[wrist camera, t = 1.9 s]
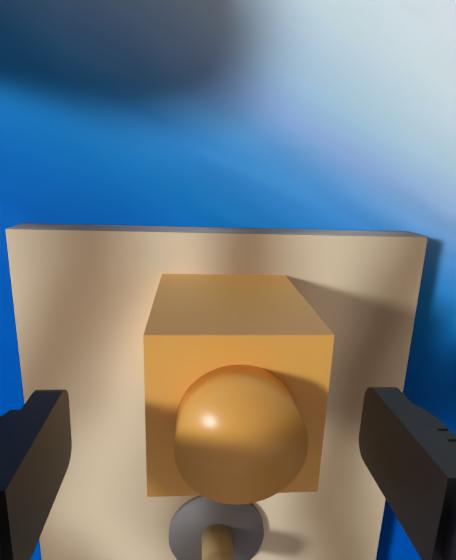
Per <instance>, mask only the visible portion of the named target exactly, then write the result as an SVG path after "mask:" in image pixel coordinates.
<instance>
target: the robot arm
mask: <svg viewBox="0 0 456 560" xmlns="http://www.w3.org/2000/svg"><path fill="white" fill-rule="evenodd" d="M359 449H360V454H361V457H362V459H363V461H364V463H365V465H366V467H367V468H368V470H369V472H370V473H371V475H372V477H373V478H374V480H375V482H376V483H377V485H378V487H379V488H380V490H381V492H382V494H383V495H384V497H385V499H386V500H387V502H388V504H389V505H390V507H391V509H392V510H393V512H394V514H395V515H396V517H397V519H398V520H399V522H400V524H401V525H402V527H403V529H404V531H405V532H406V534H407V536H408V537H409V539H410V541H411V542H412V544H413V546H414V547H415V549H416V551H417V552H418V554H419V556H420V557H421V559H422V560H456V436H455V435H454V434H453V433H452V432H451V431H448V428H447V427H446V426H445V425H444V424H443V423H442V422H441V421H440V420H439V419H438V418H437V417H436V416H435V415H433V414H432V413H430V412H428V411H426V410H425V409H423V408H421V407H420V406H418V405H414V404H413V403H412V402H411V401H410V400H409V399H408V398H407V397H406V396H405V395H404V394H403V393H402V392H401V391H400V390H399V389H398V388H397V387H369V388H367V390H366V392H365V395H364V402H363V409H362V417H361V424H360V431H359ZM71 450H72V438H71V423H70V407H69V395H68V392H67V390H65V389H59V390H35V391H34V392H33V393H32V394H31V396H30V397H29V399H28V400H27V401H26V403H25V404H24V406H23V407H22V409H21V410H10V411H8V412H7V413H6V414H4V415H3V416H1V417H0V560H31V557H32V555H33V552H34V550H35V547H36V545H37V543H38V540H39V538H40V535H41V533H42V530H43V528H44V525H45V523H46V521H47V518H48V516H49V513H50V511H51V508H52V506H53V503H54V501H55V499H56V496H57V494H58V491H59V489H60V486H61V484H62V481H63V479H64V477H65V474H66V472H67V469H68V466H69V463H70V458H71Z"/></svg>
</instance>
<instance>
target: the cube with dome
mask: <svg viewBox="0 0 456 560" xmlns="http://www.w3.org/2000/svg"><path fill="white" fill-rule="evenodd" d="M143 344H144V387H145V430H146V473H147V497H166V496H197V495H201V496H203V497H205V498H207V499H210V500H212V501H215V502H219V503H224V504H235V505H240V504H249V503H255V502H258V501H262V500H265V499H267V498H269V497H272V496H273V495H275V494H277V493H290V492H318V483H319V474H320V465H321V455H322V446H323V437H324V428H325V419H326V409H327V400H328V391H329V382H330V372H331V363H332V354H333V345H334V334H333V333H332V332H331V330H330V329H329V328H328V327H327V326H326V324H325V323H324V322H323V321H322V319H321V318H320V317H319V316H318V315H317V313H316V312H315V311H314V310H313V308H312V307H311V306H310V305H309V304H308V302H307V301H306V300H305V299H304V297H303V296H302V295H301V294H300V293H299V291H298V290H297V289H296V288H295V287H294V285H293V284H292V283H291V282H290V280H289V279H288V278H287V277H286V276H285V275H236V274H162V275H161V278H160V282H159V285H158V288H157V292H156V295H155V298H154V302H153V305H152V308H151V311H150V315H149V318H148V321H147V325H146V328H145V331H144V335H143Z"/></svg>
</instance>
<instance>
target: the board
mask: <svg viewBox="0 0 456 560" xmlns="http://www.w3.org/2000/svg"><path fill="white" fill-rule="evenodd" d="M6 238H7V247H8V257H9V266H10V275H11V284H12V293H13V302H14V311H15V320H16V329H17V338H18V347H19V356H20V366H21V375H22V384H23V393H24V402H25V403H26V401H27V400H28V399H29V397H30V396H31V394H32V393H33V392H34V391H35V390H59V389H65V390H67V392H68V395H69V407H70V423H71V438H72V450H71V458H70V463H69V466H68V469H67V472H66V474H65V477H64V479H63V481H62V484H61V486H60V489H59V491H58V494H57V496H56V499H55V501H54V503H53V506H52V508H51V511H50V513H49V516H48V518H47V521H46V523H45V525H44V528H43V530H42V533H41V535H40V547H41V556H42V560H376V555H377V549H378V543H379V537H380V531H381V524H382V518H383V512H384V506H385V500H386V499H385V497H384V495H383V494H382V492H381V490H380V488H379V487H378V485H377V483H376V482H375V480H374V478H373V477H372V475H371V473H370V472H369V470H368V468H367V467H366V465H365V463H364V461H363V459H362V457H361V454H360V449H359V431H360V424H361V417H362V409H363V402H364V395H365V392H366V390H367V388H369V387H397V388H398V389H399V390H400V391H401V392H402V393H403V388H404V382H405V376H406V369H407V363H408V357H409V351H410V345H411V338H412V332H413V326H414V320H415V314H416V308H417V301H418V295H419V289H420V283H421V277H422V270H423V264H424V258H425V252H426V246H427V239H428V237H425V236H421V235H418V234H415V233H412V232H402V231H355V230H308V229H261V228H214V227H167V226H120V225H73V224H25V223H22V224H19V225H16V226H13V227H10V228H7V229H6ZM162 274H236V275H285V276H286V277H287V278H288V279H289V280H290V282H291V283H292V284H293V285H294V287H295V288H296V289H297V290H298V291H299V293H300V294H301V295H302V296H303V297H304V299H305V300H306V301H307V302H308V304H309V305H310V306H311V307H312V308H313V310H314V311H315V312H316V313H317V315H318V316H319V317H320V318H321V319H322V321H323V322H324V323H325V324H326V326H327V327H328V328H329V329H330V330H331V332H332V333H333V334H334V345H333V354H332V363H331V372H330V382H329V391H328V400H327V409H326V419H325V428H324V437H323V446H322V455H321V465H320V474H319V483H318V492H290V493H277V494H275V495H273V496H272V497H269V498H267V499H265V500H262V501H258V502H255V503H249V504H240V505H235V504H224V503H219V502H215V501H212V500H210V499H207V498H205V497H203V496H201V495H197V496H166V497H147V473H146V430H145V387H144V344H143V335H144V331H145V328H146V325H147V321H148V318H149V315H150V311H151V308H152V305H153V302H154V298H155V295H156V292H157V288H158V285H159V282H160V278H161V275H162Z"/></svg>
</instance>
